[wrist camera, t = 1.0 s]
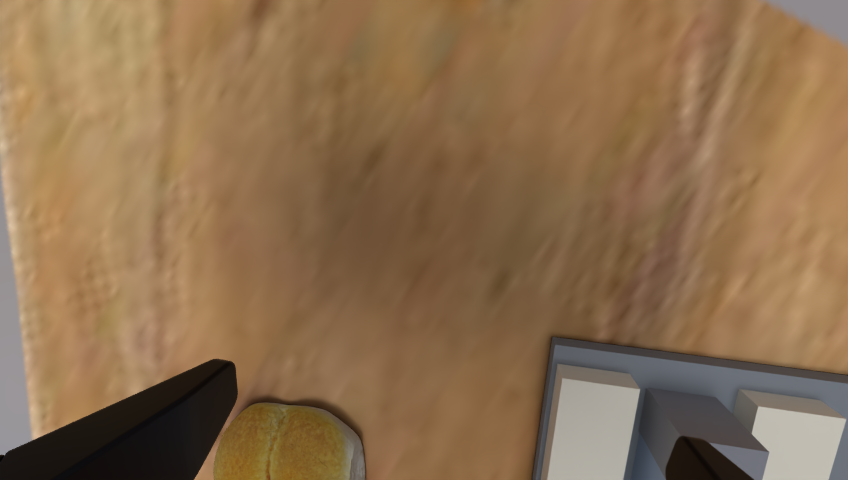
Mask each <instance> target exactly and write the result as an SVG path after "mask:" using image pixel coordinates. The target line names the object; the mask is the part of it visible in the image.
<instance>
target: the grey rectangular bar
mask: <svg viewBox="0 0 848 480" xmlns="http://www.w3.org/2000/svg"><path fill="white" fill-rule="evenodd" d="M639 432H640V436H639V441H638V447H637V452H636V457H635V462H634V467H633V472H632V478H631V480H666V477H665V468H666V464H667V462H668V459H669V457H670V454H671V452H672V449H673V446H674V444H675V441H676V439H677V438H678V437H679V436H690V437H696V438H701V439H704V440H706V441H707V442H708V443H710V444H711V445H712V446H713V447H714V448H716V449H717V450H718V451H719V452H721V453H722V454H723V455H724V456H726V457H727V458H728V459H729V460H731V461H732V462H733V463H734V464H736V465H737V466H738V467H739V468H741V469H742V470H743V471H744V472H746V473H747V474H748V475H749V476H751V477H752V478H753V479H754V480H762V479H763V475H764V471H765V467H766V463H767V460H768V456H769V451H768V450H767V449H766V448H765V447H764V446H763V445H762V444H761V443H760V442H759V441H758V440H757V439H756V438H755V437H754V436H753V435H752V434H751V433H750V432H749V431H748V430H747V429H746V428H745V427H744V425H743V424H742V423H741V422H740V421H739V420H738V419H737V418H736V417H735V416H734V415H733V414H732V413H731V412H730V411H729V410H728V409H727V408H726V407H725V406H724V405H723V404H722V403H721V402H720V401H719V400H718V399H717V398H716V397H710V396H703V395H696V394H689V393H682V392H675V391H668V390H661V389H654V388H647V389H646V394H645V399H644V404H643V409H642V415H641V420H640V425H639Z"/></svg>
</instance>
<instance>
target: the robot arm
mask: <svg viewBox="0 0 848 480" xmlns="http://www.w3.org/2000/svg"><path fill="white" fill-rule="evenodd" d="M237 395H238V389H237V378H236V368H235V364H234V363H233V362H231V361H227V360H221V359H212V360H210V361H208V362H206V363H203V364H201V365H199V366H197V367H194V368H192V369H190V370H188V371H186V372H183V373H181V374H179V375H177V376H174V377H172V378H170V379H168V380H166V381H163V382H161V383H159V384H157V385H155V386H152V387H150V388H148V389H146V390H143V391H141V392H139V393H137V394H135V395H132V396H130V397H128V398H126V399H123V400H121V401H119V402H117V403H115V404H112V405H110V406H108V407H106V408H103V409H101V410H99V411H97V412H95V413H92V414H90V415H88V416H86V417H84V418H81V419H79V420H77V421H75V422H72V423H70V424H68V425H66V426H64V427H61V428H59V429H57V430H55V431H52V432H50V433H48V434H46V435H44V436H41V437H39V438H37V439H35V440H32V441H30V442H28V443H26V444H24V445H21V446H19V447H17V448H15V449H12V450H10V451H8V452H7V453H6V454H5V456H4V455H0V480H194V479H195V477H196V475H197V474H198V472H199V470H200V469H201V467H202V465H203V463H204V461H205V460H206V458H207V456H208V454H209V452H210V450H211V448H212V446H213V445H214V443H215V441H216V439H217V437H218V435H219V433H220V431H221V429H222V428H223V426H224V424H225V422H226V420H227V418H228V416H229V414H230V413H231V411H232V409H233V407H234V405H235V403H236V400H237ZM665 477H666V480H754V479H753V478H752V477H751V476H749V475H748V474H747V473H746V472H744V471H743V470H742V469H741V468H739V467H738V466H737V465H736V464H734V463H733V462H732V461H731V460H729V459H728V458H727V457H726V456H724V455H723V454H722V453H721V452H719V451H718V450H717V449H716V448H714V447H713V446H712V445H711V444H710V443H708V442H707V441H706V440H704V439H701V438H696V437H690V436H679V437H678V438H677V439H676V441H675V444H674V446H673V449H672V452H671V454H670V457H669V459H668V462H667V464H666V468H665Z"/></svg>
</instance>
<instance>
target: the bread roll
mask: <svg viewBox="0 0 848 480" xmlns="http://www.w3.org/2000/svg"><path fill="white" fill-rule="evenodd" d="M214 480H365V462H364V455H363V447H362V444H361V440H360V438H359V437H358V435H357V434H356V433H355V432H354V431H353V430H352V429H351V428H350V427H349V426H347V425H346V424H345V423H343V422H342V421H341V420H340V419H338V418H337V417H335V416H334V415H332V414H331V413H330V412H328V411H326V410H323V409H320V408H315V407H309V406H297V405H284V404H279V403H267V402H266V403H256V404H253V405H251V406H249V407H248V408H246V409H245V410H244V411H242V412H241V413H240V414H239V415H238V416H237V417H236V418H235V419H234V420H233V421H232V423H231V424H230V425H229V426H228V428H227V429H226V431H225V432H224V434H223V435H222V438H221V441H220V444H219V446H218V449H217V453H216V456H215V461H214Z"/></svg>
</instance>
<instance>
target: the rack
mask: <svg viewBox="0 0 848 480" xmlns="http://www.w3.org/2000/svg"><path fill="white" fill-rule="evenodd" d="M647 388H654V389H661V390H668V391H675V392H682V393H689V394H696V395H703V396H710V397H716V398H717V399H718V400H719V401H720V402H721V403H722V404H723V405H724V406H725V407H726V408H727V409H728V410H729V411H730V412H731V413H732V414H733V415H734V416H735V417H736V418H737V419H738V420H739V421H740V422H741V423H742V424H743V425H744V427H745V428H746V429H747V430H748V431H749V432H750V433H751V434H752V435H753V436H754V437H755V438H756V439H757V440H758V441H759V442H760V443H761V444H762V445H763V446H764V447H765V448H766V449H767V450H768V451H769V456H768V460H767V463H766V467H765V471H764V475H763V479H762V480H848V375H841V374H833V373H825V372H818V371H810V370H802V369H795V368H787V367H779V366H772V365H764V364H756V363H749V362H741V361H733V360H726V359H718V358H710V357H703V356H695V355H687V354H680V353H672V352H664V351H657V350H649V349H641V348H634V347H626V346H618V345H611V344H603V343H596V342H588V341H580V340H573V339H565V338H557V337H552V342H551V349H550V356H549V363H548V370H547V378H546V385H545V392H544V399H543V406H542V413H541V420H540V427H539V434H538V441H537V448H536V455H535V462H534V469H533V476H532V480H631V478H632V472H633V467H634V462H635V457H636V452H637V447H638V441H639V436H640V432H639V425H640V420H641V415H642V409H643V404H644V399H645V394H646V389H647Z"/></svg>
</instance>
